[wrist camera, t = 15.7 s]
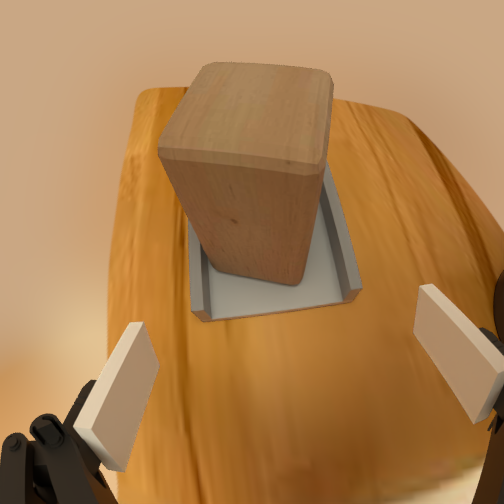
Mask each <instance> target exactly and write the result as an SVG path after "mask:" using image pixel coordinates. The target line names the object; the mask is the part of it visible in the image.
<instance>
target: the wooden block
mask: <svg viewBox="0 0 504 504" xmlns="http://www.w3.org/2000/svg"><path fill="white" fill-rule="evenodd" d="M333 89H334V84H333V81H332V78H331V76H330V74H329V73H327V72H325V71H323V70H318V69H312V68H303V67H295V66H285V65H273V64H258V63H235V62H233V63H232V62H214V63H211V64H207V65H205V66H203V67H202V69H201V70H200V72H199V73H198V75H197V76H196V78H195V79H194V81H193V82H192V84H191V86H190V87H189V89H188V90H187V92H186V94H185V95H184V97H183V98H182V100H181V102H180V103H179V105H178V107H177V108H176V110H175V112H174V113H173V115H172V117H171V118H170V120H169V122H168V124H167V125H166V127H165V129H164V131H163V132H162V134H161V136H160V138H159V142H158V156H159V158H160V160H161V162H162V165H163V167H164V169H165V171H166V173H167V175H168V177H169V179H170V182H171V184H172V186H173V188H174V190H175V192H176V194H177V196H178V198H179V200H180V203H181V205H182V207H183V209H184V211H185V213H186V215H187V217H188V219H189V221H190V223H191V225H192V227H193V229H194V231H195V233H196V235H197V237H198V239H199V241H200V243H201V245H202V247H203V249H204V251H205V253H206V255H207V257H208V259H209V261H210V263H211V265H212V267H213V268H215V269H216V270H218V271H221V272H226V273H231V274H236V275H241V276H246V277H252V278H257V279H262V280H267V281H272V282H278V283H283V284H288V285H295V284H299V283H300V282H301V280H302V279H303V276H304V272H305V267H306V263H307V258H308V253H309V249H310V244H311V239H312V234H313V229H314V225H315V220H316V215H317V210H318V204H319V199H320V194H321V189H322V183H323V178H324V172H325V166H326V159H327V150H328V141H329V132H330V122H331V112H332V101H333Z"/></svg>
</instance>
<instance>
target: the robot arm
mask: <svg viewBox="0 0 504 504" xmlns="http://www.w3.org/2000/svg"><path fill="white" fill-rule="evenodd" d="M494 315H495V322H496V327H497V331H498V334H499V337H500V340H501V341H499V339H498V338H497V337H496V336H495V335H494V334H493V333H492V332H490V331H488V330H487V329H485V328H483V327H482V328H479V329H478V328H477V327H476V326H475V325H474V324H473V323H472V322H471V321H470V320H469V319H468V318H467V317H466V316H465V315H464V314H463V313H462V312H461V311H460V310H459V309H458V308H457V307H456V306H455V305H454V304H453V303H452V302H451V301H450V300H449V299H448V298H447V297H446V296H445V295H444V294H443V293H442V292H441V291H440V290H439V289H438V288H436V287H435V286H434V285H433V284H432V283H431V284H427V285H422V286H419V292H418V301H417V308H416V316H415V322H414V329H413V334H414V335H415V337H416V338H417V339H418V341H419V342H420V344H421V345H422V346H423V348H424V349H425V351H426V352H427V354H428V355H429V356H430V358H431V359H432V361H433V362H434V364H435V365H436V367H437V368H438V370H439V371H440V373H441V374H442V376H443V377H444V379H445V380H446V382H447V383H448V385H449V386H450V388H451V389H452V391H453V392H454V394H455V396H456V397H457V399H458V400H459V402H460V403H461V405H462V407H463V408H464V410H465V411H466V413H467V415H468V416H469V418H470V420H471V421H472V423H473V424H475V423H478V422H480V421H482V420H484V419H486V418H488V416H489V414H490V412H491V410H492V409H493V408H494V409H495V411H496V412H497V413H496V415H495V417H494V419H493V420H492V422H491V424H490V426H489V428H488V430H487V431H490V429H491V428H492V432H491V437H490V442H489V446H488V450H487V454H486V458H485V462H484V466H483V470H482V473H481V477H480V480H479V483H478V486H477V489H476V493H475V495H474V498H473V501H472V504H504V271H503V272H502V274H501V275H500V277H499V279H498V282H497V285H496V289H495V296H494ZM159 367H160V365H159V362H158V359H157V357H156V354H155V351H154V349H153V346H152V343H151V341H150V338H149V335H148V332H147V329H146V327H145V324H144V322H130V323H129V325H128V326H127V328H126V330H125V331H124V333H123V335H122V336H121V338H120V340H119V342H118V343H117V345H116V347H115V349H114V350H113V352H112V354H111V356H110V357H109V359H108V361H107V363H106V365H105V367H104V368H103V370H102V372H101V374H100V376H99V377H98V379H97V380H90V381H89V382H88V383H87V384H86V385H85V386H84V387H83V388H82V390H81V391H80V393H79V395H78V398H77V399H76V401H75V402H74V405H73V406H72V408H71V409H70V411H69V413H68V415H67V417H66V419H65V421H64V423H63V424H62V423H61V422H60V421H59V419H58V418H57V417H56V416H55V415H53V414H43V415H40V416H39V417H37V418H36V419H35V420H34V421H33V422H32V424H31V426H30V433H31V435H32V436H33V437H34V438H35V440H36V441H29V440H28V439H27V438H26V437H25V436H24V435H23V434H21V433H13V434H11V435H9V436H8V437H7V438H6V439H5V441H4V442H3V445H2V452H1V460H0V504H118V502H117V501H116V499H115V497H114V495H113V493H112V492H111V490H110V488H109V486H108V484H107V482H106V480H105V478H104V476H103V474H102V473H101V471H100V470H99V466H100V463H101V462H102V464H103V465H104V466H105V467H106V468H107V469H108V470H112V471H118V472H125V470H126V467H127V464H128V460H129V457H130V454H131V451H132V448H133V445H134V441H135V438H136V435H137V432H138V429H139V426H140V423H141V420H142V417H143V414H144V411H145V408H146V405H147V402H148V399H149V396H150V393H151V390H152V387H153V384H154V382H155V379H156V376H157V373H158V370H159ZM492 426H493V427H492Z"/></svg>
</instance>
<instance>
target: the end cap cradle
mask: <svg viewBox="0 0 504 504" xmlns="http://www.w3.org/2000/svg"><path fill="white" fill-rule="evenodd" d="M188 237H189V272H190V296H191V312H193V313H194V314H195V315H196V316H197V317H198V318H199V319H200V320H201V321H202V322H210V321H219V320H228V319H237V318H246V317H254V316H262V315H269V314H277V313H284V312H291V311H298V310H305V309H311V308H318V307H324V306H330V305H336V304H342V303H348V302H352V301H353V299H354V298H355V297H356V296H357V294H358V293H359V292H360V291H361V289H362V288H363V287H362V283H361V278H360V274H359V270H358V266H357V262H356V258H355V254H354V250H353V246H352V243H351V239H350V235H349V231H348V228H347V224H346V221H345V217H344V214H343V210H342V207H341V203H340V200H339V197H338V194H337V190H336V187H335V184H334V181H333V177H332V174H331V171H330V168H329V165H328V162H327V159H326V166H325V172H324V178H323V183H322V189H321V194H320V199H319V204H318V210H317V215H316V220H315V225H314V229H313V234H312V239H311V244H310V249H309V253H308V258H307V263H306V267H305V272H304V276H303V279H302V280H301V282H300V283H299V284H295V285H288V284H283V283H278V282H272V281H267V280H262V279H257V278H252V277H246V276H241V275H236V274H231V273H226V272H221V271H218V270H216V269H215V268H213V267H212V265H211V263H210V261H209V259H208V257H207V255H206V253H205V251H204V249H203V247H202V245H201V243H200V241H199V239H198V237H197V235H196V233H195V231H194V229H193V227H192V225H191V223H190V221H189V219H188Z"/></svg>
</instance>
